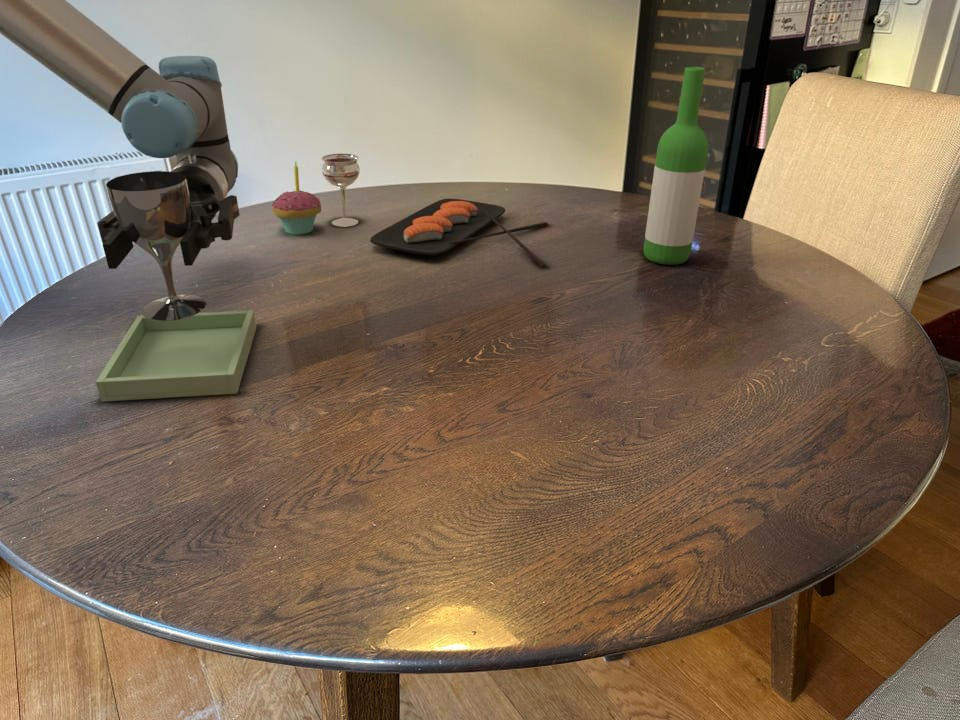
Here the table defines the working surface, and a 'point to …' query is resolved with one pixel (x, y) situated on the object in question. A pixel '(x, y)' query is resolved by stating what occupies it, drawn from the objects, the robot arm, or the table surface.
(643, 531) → the table surface
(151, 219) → the wine glass
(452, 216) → the sushi plate
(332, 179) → the wineglass
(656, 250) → the wine bottle
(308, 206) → the cupcake
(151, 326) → the tray
